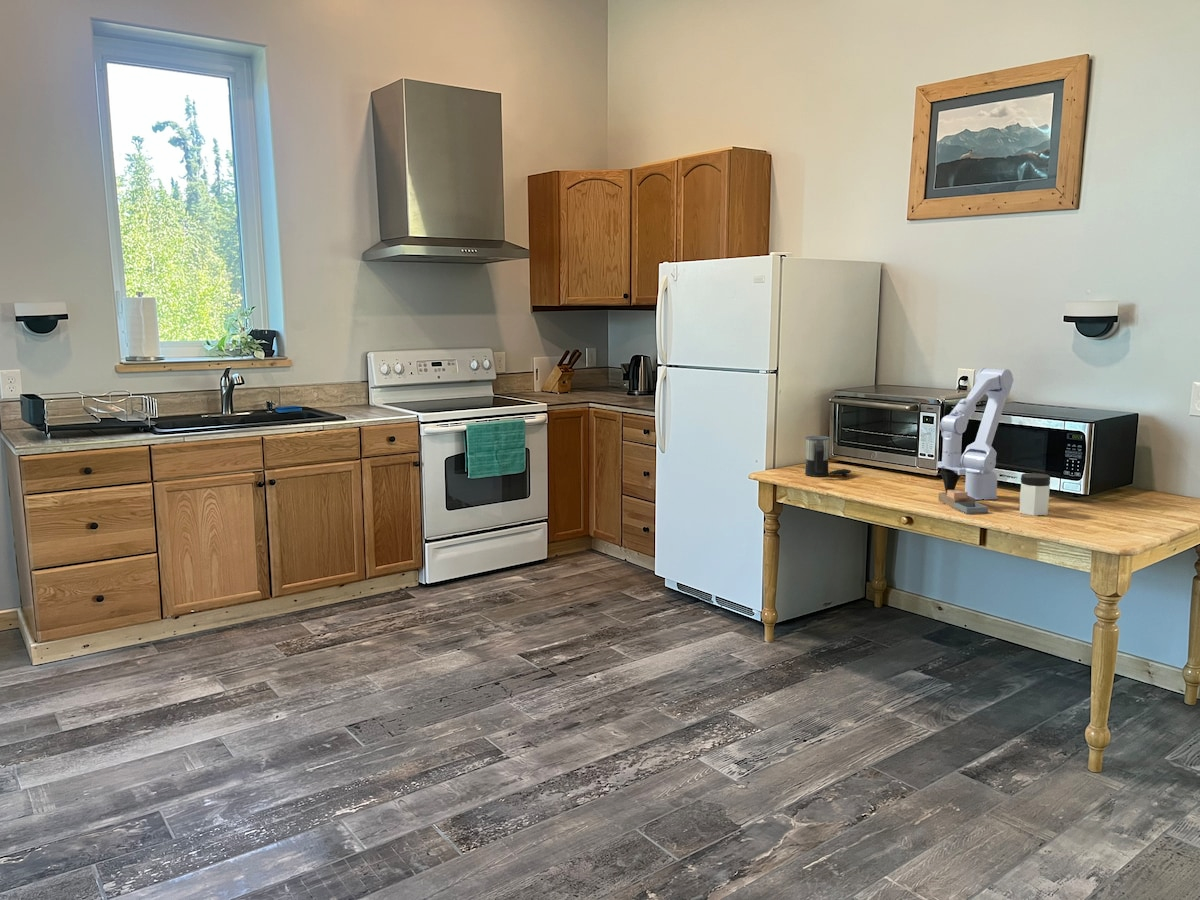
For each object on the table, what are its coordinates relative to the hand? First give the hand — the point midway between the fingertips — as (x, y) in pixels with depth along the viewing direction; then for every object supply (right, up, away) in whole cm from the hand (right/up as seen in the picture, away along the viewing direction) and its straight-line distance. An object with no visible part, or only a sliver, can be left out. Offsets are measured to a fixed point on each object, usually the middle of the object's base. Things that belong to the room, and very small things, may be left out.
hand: (949, 492), depth 285 cm
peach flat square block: (+1, -1, -4) cm, 4 cm away
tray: (+3, -5, -10) cm, 12 cm away
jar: (+21, -6, -14) cm, 26 cm away
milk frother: (-27, +4, +50) cm, 57 cm away
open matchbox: (+2, -4, -1) cm, 4 cm away
